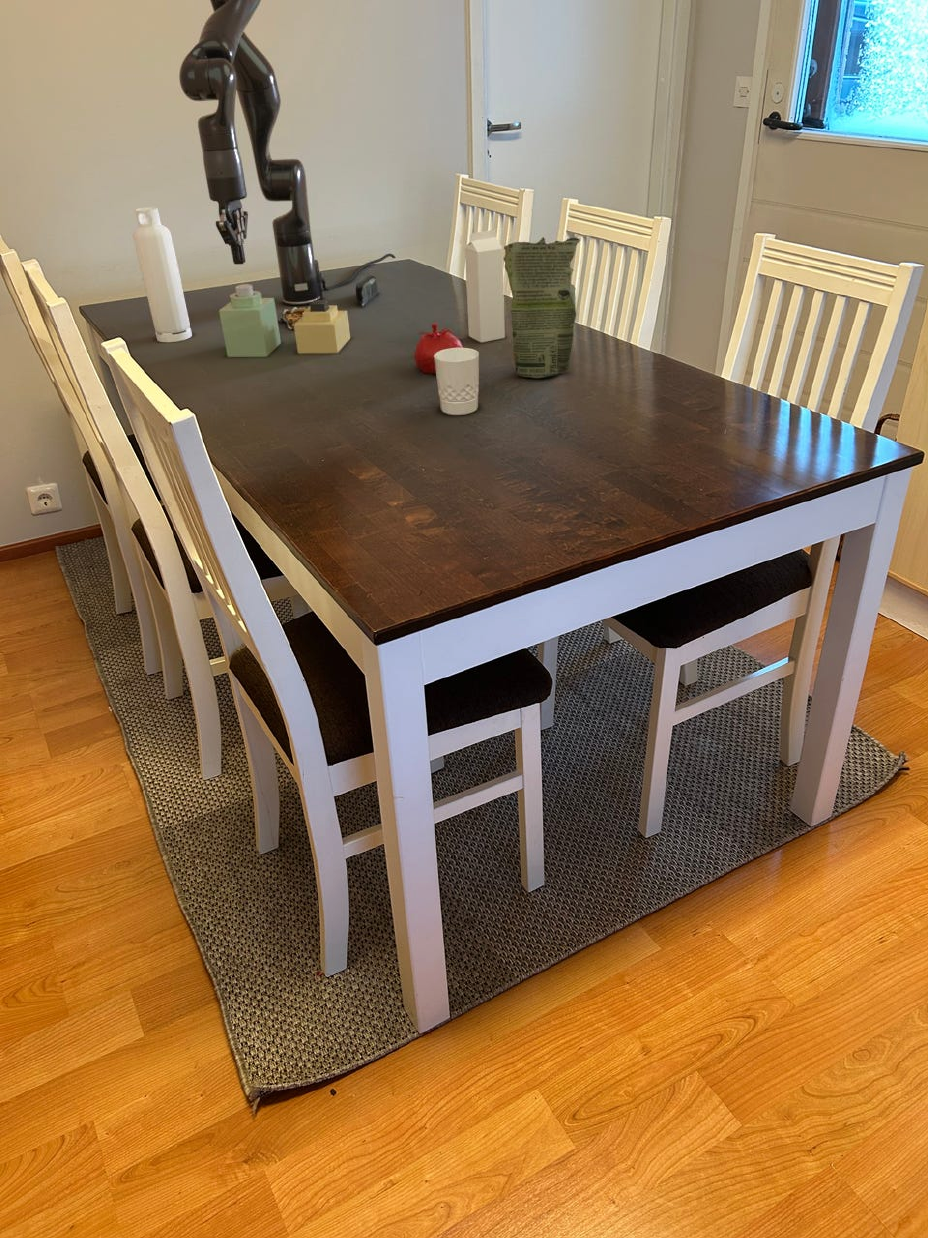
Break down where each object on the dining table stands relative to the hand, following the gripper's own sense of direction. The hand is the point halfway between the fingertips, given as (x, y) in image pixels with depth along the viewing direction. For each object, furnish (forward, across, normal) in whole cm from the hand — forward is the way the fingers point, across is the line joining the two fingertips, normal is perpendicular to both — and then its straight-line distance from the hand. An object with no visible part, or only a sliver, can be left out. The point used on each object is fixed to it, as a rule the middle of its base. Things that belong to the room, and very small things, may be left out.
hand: (239, 263), depth 197 cm
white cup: (+19, -36, -52) cm, 66 cm away
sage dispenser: (+18, 0, 0) cm, 18 cm away
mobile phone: (+18, +42, -16) cm, 48 cm away
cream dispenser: (+18, +3, -15) cm, 24 cm away
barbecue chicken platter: (+18, +20, -4) cm, 28 cm away
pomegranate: (+19, -14, -44) cm, 50 cm away
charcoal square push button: (+11, +3, -15) cm, 19 cm away
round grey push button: (+7, 0, 0) cm, 7 cm away
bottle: (+18, +10, +23) cm, 32 cm away
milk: (+18, +8, -51) cm, 55 cm away
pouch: (+19, -15, -65) cm, 69 cm away
